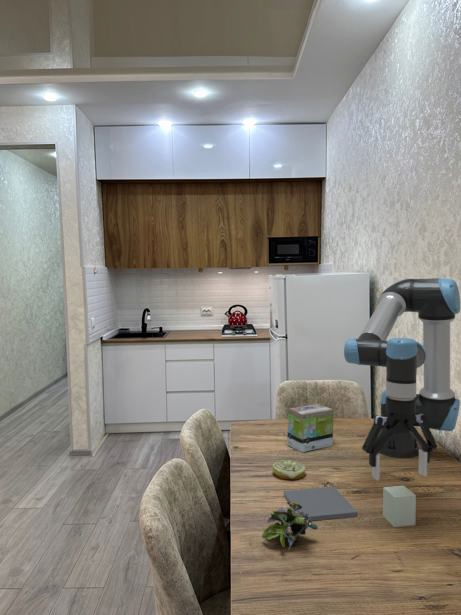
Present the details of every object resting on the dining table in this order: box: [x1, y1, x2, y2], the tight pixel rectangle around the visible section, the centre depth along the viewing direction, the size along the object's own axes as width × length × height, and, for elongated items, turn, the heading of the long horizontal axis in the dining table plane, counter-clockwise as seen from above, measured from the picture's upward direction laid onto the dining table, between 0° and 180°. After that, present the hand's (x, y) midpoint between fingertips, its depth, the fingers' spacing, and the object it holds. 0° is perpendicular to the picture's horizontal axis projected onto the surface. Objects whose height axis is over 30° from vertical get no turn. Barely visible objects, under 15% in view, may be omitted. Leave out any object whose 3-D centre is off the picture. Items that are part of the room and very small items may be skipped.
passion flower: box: [261, 501, 319, 553], centre depth 115 cm, size 11×11×12 cm
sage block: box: [382, 485, 417, 528], centre depth 126 cm, size 6×6×8 cm
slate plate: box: [283, 486, 358, 522], centre depth 134 cm, size 16×16×1 cm
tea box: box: [286, 403, 334, 453], centre depth 182 cm, size 15×10×15 cm, turn 120°
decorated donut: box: [272, 459, 307, 481], centre depth 156 cm, size 10×11×4 cm
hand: (399, 476), depth 125 cm, fingers open, 13 cm apart
